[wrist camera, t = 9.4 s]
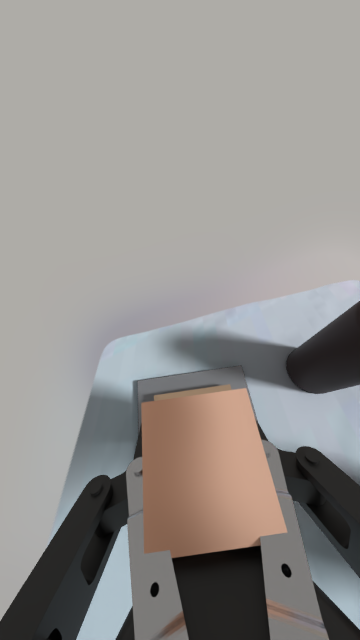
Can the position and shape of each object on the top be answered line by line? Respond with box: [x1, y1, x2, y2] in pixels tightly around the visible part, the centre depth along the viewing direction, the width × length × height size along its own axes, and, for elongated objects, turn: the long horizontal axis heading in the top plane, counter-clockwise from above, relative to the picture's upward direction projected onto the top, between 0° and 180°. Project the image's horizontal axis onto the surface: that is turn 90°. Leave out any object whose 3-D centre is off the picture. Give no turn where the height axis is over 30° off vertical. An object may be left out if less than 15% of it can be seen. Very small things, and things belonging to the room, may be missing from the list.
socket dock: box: [138, 366, 258, 437], centre depth 24 cm, size 16×16×3 cm
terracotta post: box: [141, 388, 287, 558], centre depth 12 cm, size 4×4×11 cm
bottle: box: [286, 301, 360, 394], centre depth 20 cm, size 7×7×20 cm
